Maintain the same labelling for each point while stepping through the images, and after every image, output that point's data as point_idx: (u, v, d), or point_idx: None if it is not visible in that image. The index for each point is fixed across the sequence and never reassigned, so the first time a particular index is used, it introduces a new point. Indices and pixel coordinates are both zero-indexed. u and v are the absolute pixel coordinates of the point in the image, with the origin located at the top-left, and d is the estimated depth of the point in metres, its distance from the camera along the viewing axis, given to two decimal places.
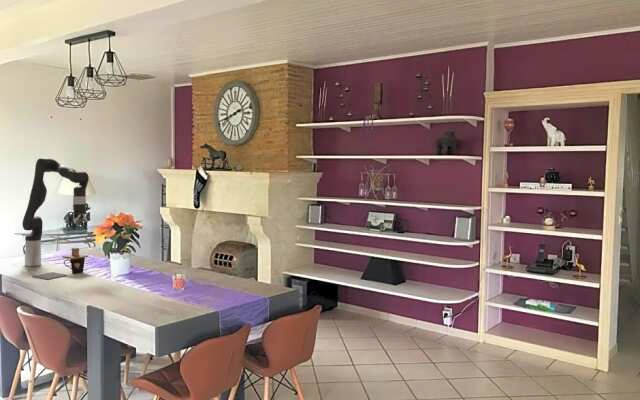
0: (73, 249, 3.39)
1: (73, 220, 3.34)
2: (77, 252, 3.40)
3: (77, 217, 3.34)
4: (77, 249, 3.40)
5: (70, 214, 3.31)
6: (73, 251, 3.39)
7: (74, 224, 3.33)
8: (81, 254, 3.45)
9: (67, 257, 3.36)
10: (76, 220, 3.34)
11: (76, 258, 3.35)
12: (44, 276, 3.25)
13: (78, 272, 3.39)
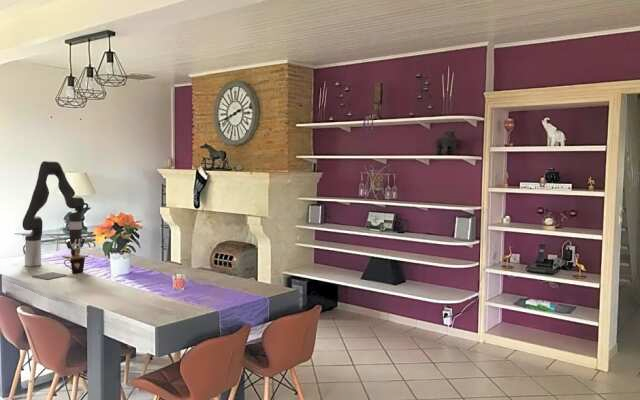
0: None
1: None
2: (77, 252, 3.40)
3: (74, 243, 3.37)
4: (77, 249, 3.40)
5: (66, 242, 3.34)
6: None
7: (73, 250, 3.38)
8: (81, 254, 3.45)
9: (67, 257, 3.36)
10: (74, 246, 3.38)
11: (76, 258, 3.35)
12: (44, 276, 3.25)
13: (78, 272, 3.39)
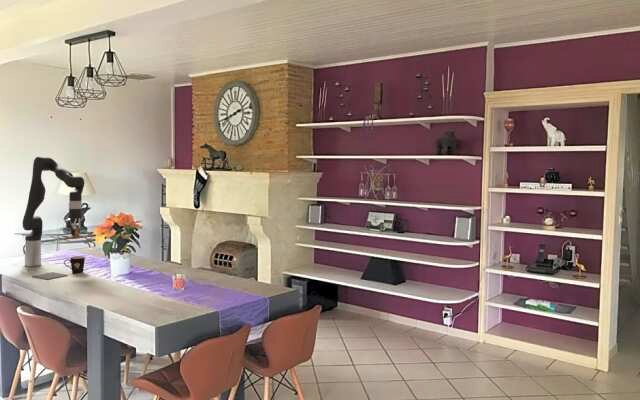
0: None
1: (71, 226, 3.38)
2: (77, 232, 3.39)
3: (74, 222, 3.36)
4: (77, 229, 3.39)
5: (66, 221, 3.33)
6: None
7: (73, 230, 3.37)
8: (81, 234, 3.44)
9: (67, 236, 3.35)
10: (74, 225, 3.37)
11: (76, 237, 3.34)
12: (44, 276, 3.25)
13: (78, 272, 3.39)
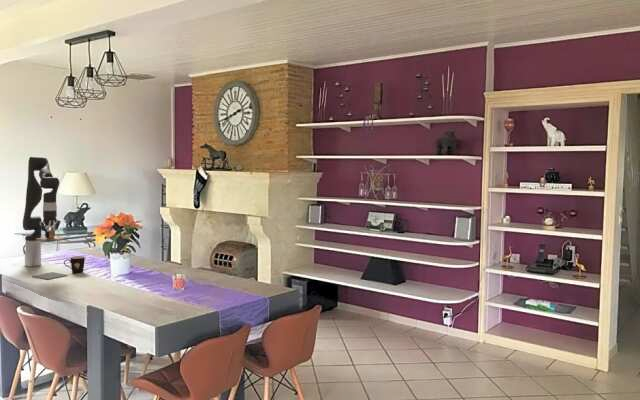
0: None
1: (46, 228, 3.25)
2: (52, 234, 3.26)
3: (48, 225, 3.24)
4: (52, 231, 3.26)
5: (40, 224, 3.20)
6: None
7: (47, 233, 3.24)
8: (56, 237, 3.31)
9: (41, 239, 3.22)
10: None
11: (50, 240, 3.21)
12: (44, 276, 3.25)
13: (78, 272, 3.39)
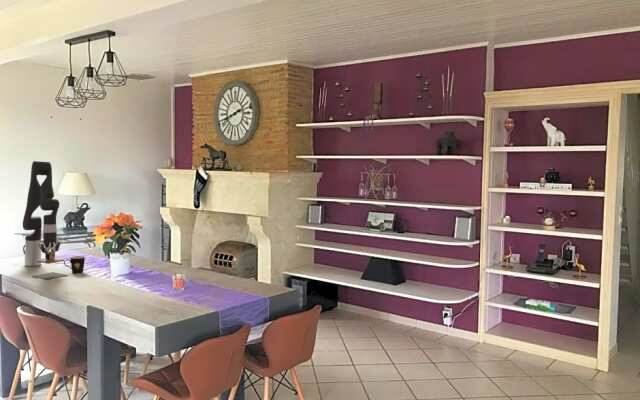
0: None
1: (46, 250, 3.26)
2: (52, 256, 3.27)
3: (48, 247, 3.24)
4: (52, 253, 3.27)
5: (40, 246, 3.21)
6: None
7: (48, 254, 3.25)
8: (56, 258, 3.32)
9: (41, 261, 3.23)
10: None
11: (51, 262, 3.22)
12: (44, 276, 3.25)
13: (78, 272, 3.39)
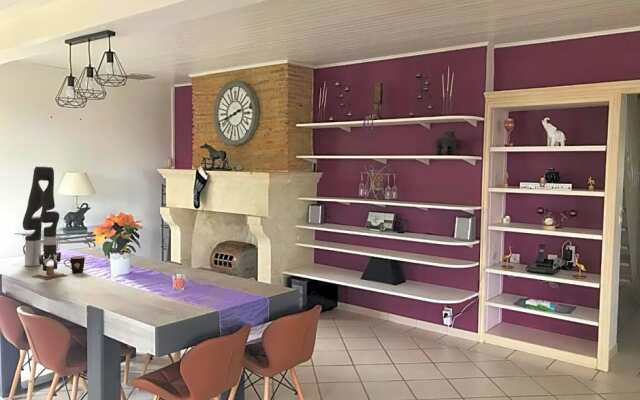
0: (48, 267, 3.27)
1: (44, 262, 3.25)
2: (52, 270, 3.28)
3: (47, 258, 3.24)
4: (52, 267, 3.28)
5: (40, 256, 3.21)
6: (48, 269, 3.27)
7: (45, 266, 3.24)
8: (56, 272, 3.33)
9: (41, 275, 3.24)
10: None
11: (50, 277, 3.23)
12: None
13: (78, 272, 3.39)
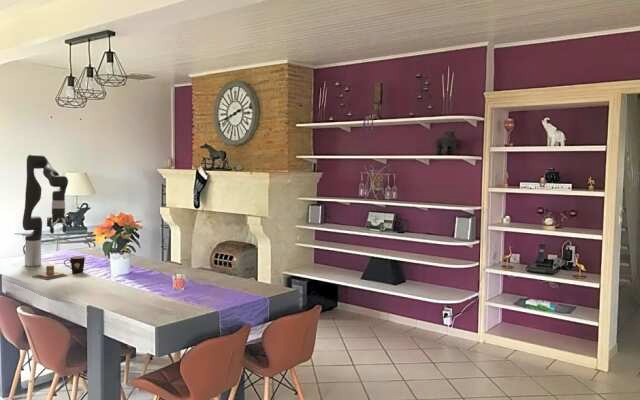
0: (48, 267, 3.27)
1: (51, 224, 3.33)
2: (52, 270, 3.28)
3: (55, 221, 3.32)
4: (52, 267, 3.28)
5: (48, 218, 3.30)
6: (48, 269, 3.27)
7: (52, 228, 3.32)
8: (56, 272, 3.33)
9: (41, 275, 3.24)
10: (54, 224, 3.32)
11: (50, 277, 3.23)
12: None
13: (78, 272, 3.39)
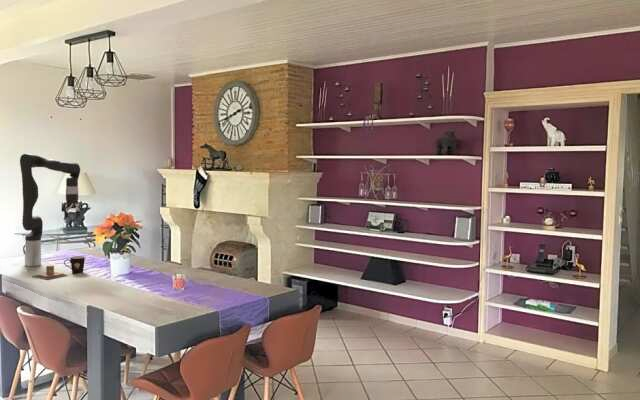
0: (48, 267, 3.27)
1: None
2: (52, 270, 3.28)
3: (69, 206, 3.48)
4: (52, 267, 3.28)
5: (63, 203, 3.45)
6: (48, 269, 3.27)
7: (67, 213, 3.47)
8: (56, 272, 3.33)
9: (41, 275, 3.24)
10: (68, 209, 3.48)
11: (50, 277, 3.23)
12: None
13: (78, 272, 3.39)
